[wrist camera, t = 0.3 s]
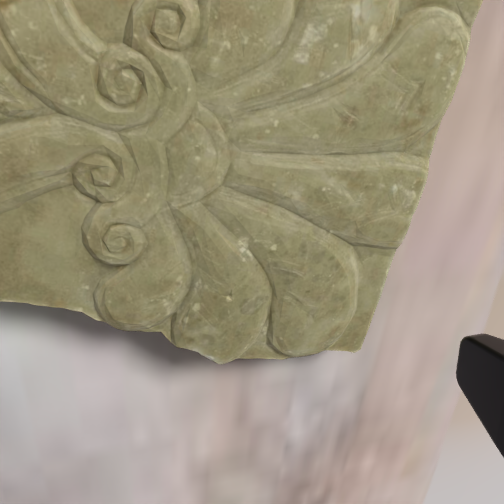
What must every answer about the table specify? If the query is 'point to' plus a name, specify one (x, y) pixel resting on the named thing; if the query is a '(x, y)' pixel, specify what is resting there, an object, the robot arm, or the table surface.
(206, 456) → the table surface
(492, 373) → the robot arm
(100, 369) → the table surface
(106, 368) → the table surface
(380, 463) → the table surface
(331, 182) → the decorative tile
